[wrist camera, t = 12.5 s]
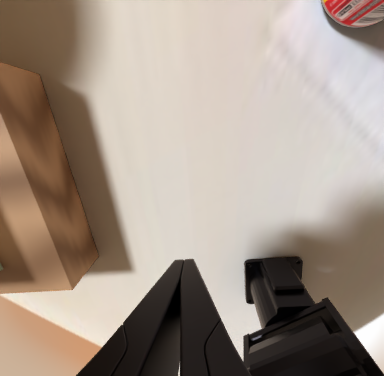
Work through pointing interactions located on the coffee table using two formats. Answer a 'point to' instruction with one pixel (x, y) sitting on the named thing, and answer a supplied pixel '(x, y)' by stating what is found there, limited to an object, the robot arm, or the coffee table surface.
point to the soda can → (355, 12)
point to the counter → (37, 194)
